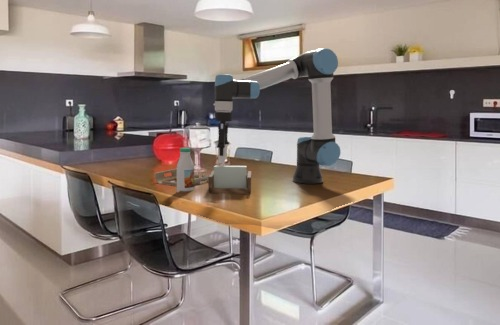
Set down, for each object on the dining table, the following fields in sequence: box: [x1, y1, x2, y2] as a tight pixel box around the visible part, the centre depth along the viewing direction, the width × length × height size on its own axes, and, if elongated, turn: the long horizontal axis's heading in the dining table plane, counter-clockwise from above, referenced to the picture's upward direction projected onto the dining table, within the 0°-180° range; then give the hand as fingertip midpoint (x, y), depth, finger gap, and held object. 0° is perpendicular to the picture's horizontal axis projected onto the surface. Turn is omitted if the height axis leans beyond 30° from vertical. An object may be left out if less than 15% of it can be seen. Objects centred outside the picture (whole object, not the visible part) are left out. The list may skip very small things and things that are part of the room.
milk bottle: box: [176, 147, 195, 193], centre depth 175 cm, size 8×8×20 cm
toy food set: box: [153, 168, 209, 187], centre depth 198 cm, size 25×18×8 cm
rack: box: [208, 170, 252, 195], centre depth 177 cm, size 18×16×8 cm
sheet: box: [213, 164, 248, 188], centre depth 173 cm, size 14×4×11 cm, turn 89°
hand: (222, 161), depth 172 cm, fingers open, 13 cm apart
